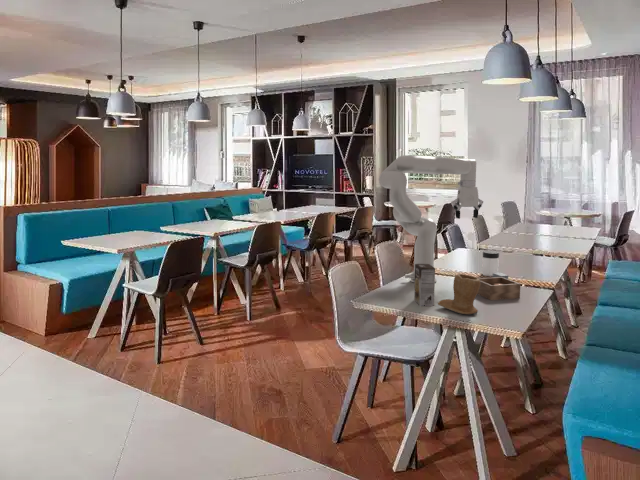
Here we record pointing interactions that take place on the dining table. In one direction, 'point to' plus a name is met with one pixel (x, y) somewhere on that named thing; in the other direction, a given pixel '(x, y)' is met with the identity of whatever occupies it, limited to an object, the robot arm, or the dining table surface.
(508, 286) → the box
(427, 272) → the coffee box
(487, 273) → the jar
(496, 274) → the lid
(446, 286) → the dining table surface
